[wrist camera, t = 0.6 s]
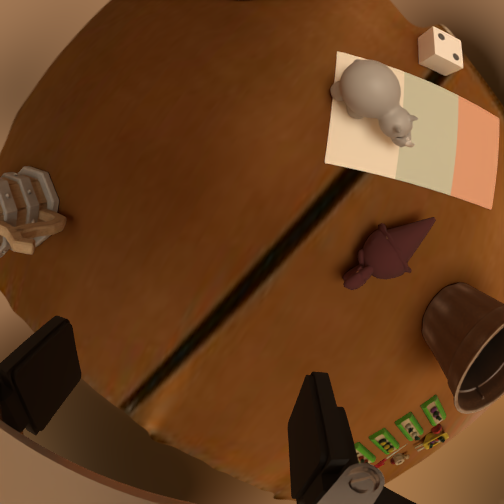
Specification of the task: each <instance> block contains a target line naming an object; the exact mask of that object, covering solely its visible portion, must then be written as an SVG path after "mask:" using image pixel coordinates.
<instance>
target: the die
mask: <svg viewBox="0 0 504 504" xmlns="http://www.w3.org/2000/svg"><path fill="white" fill-rule="evenodd" d="M418 55H419V64H420V65H422V66H425V67H427V68H429V69H431V70H434V71H436V72H438V73H440V74H442V75H444V76H447V75H449V74H451V73H453V72H456V71H458V70H460V69H463V59H462V48H461V41H460V40H458V39H457V38H455V37H453V36H451V35H449V34H447V33H445V32H443V31H441V30H439V29H437V28H435V27H431V28H430V29H429V30H427V31H426V32H425V33H424V34H422V35H421V36H420V37H418Z"/></svg>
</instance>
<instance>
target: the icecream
mask: <svg viewBox="0 0 504 504" xmlns="http://www.w3.org/2000/svg"><path fill="white" fill-rule="evenodd" d="M435 221H436V220H435V218H434V217H432V218H428V219H424V220H421V221H417V222H414V223H410V224H406V225H403V226H399V227H395V228H392V229H388V230H387V229H386V226H385V224H383V223H381V224H380V225H378V230H376V231H374V232H373V233H372V234H371V235H370V236H369V237H368V239H367V240H366V242H365V244H364V247H363V249H361V250H359V251H358V261H359V263H360V264H359V265H357V266H356V267H354V268H352V269H351V270H349V271H348V272H347V273H346V274H345V275H344V276H343V280H344V287H346V288H348V289H351V290H354V289H357V288H359V287H361V286H362V285H363V284H365V283H366V281H367V280H368V279H369V278H370V276H371V275H373V276H374V277H376V278H380V279H390V278H395V277H398V276H401V275H402V274H403V273H404V272H411V269H410V268H409V267H408V265H407V262H408V261H409V259H410V258H411V257H412V255H413V254H414V252H415V251H416V249H417V248H418V247H419V245H420V244H421V242H422V241H423V239H424V238H425V236H426V235H427V233H428V232H429V230H430V229H431V227H432V226H433V224H434V222H435Z"/></svg>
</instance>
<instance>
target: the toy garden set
mask: <svg viewBox="0 0 504 504" xmlns="http://www.w3.org/2000/svg"><path fill="white" fill-rule="evenodd" d="M420 406H421V408H422V410H423V411H424V413H425V415H426V416H427V418H428V420H429V421H430V423H431V425H432V426H435V427H433V428H432V432H433V433H428V434H427V435H426V437H425V440H424V442H423V443H421V444H419V445H417V446H416V447H415V449H416V448H418V447H420V446H422V445H423V447H421V448H420V449H418V450H417V451H420V450H422V449H424V448H426V449H429V448H432V447H433V446H435V445H437V444H439V443H440V442H444V441H445V440H446V439H447V438H449V436H448V435H447V433H446V432H444V431H443V430H442V427H441V425H440V424H438V423H439V422H441V421H442V420H444V419H445V418H446V414H445V412H444V409H443V407H442V405H441V403H440V401H439V399H438V397H437V395H434V396H433V397H432V398H430V399H429V400H427V401H426V402H425V403H423V404H422V405H420ZM395 424H396V426H397V427H398V428H399V429H400V430H401V432H402V433H403V434H404V435H405V436H406V438H407V439H408V440H409V441H413V439H415V440H420V438H419V437H418V436H419V435H422V434H423V429H422V427H421V426H420V424H419V423H418V421H417V420H416V418H415V417H414V415H413V414H412V412H409V413H408V414H406V415H405V416H403V417H402V418H400V419H398V420H397V421H395ZM437 424H438V425H437ZM442 431H443V432H442ZM369 439H370V440H371V441H372V442H373V443H374V444H375V445H376V446H377V447H378V448H379V449H380V450H382V451H383V452H384V453H385V454H390V453H391V452H393V451H394V450H396V449H398V448H399V443H398V442H397V441H396V440H395V438H394V437H393V436H392V435H391V434H390V433H389V432H388V431H387V430H386V428H383V429H381V430H380V431H378V432H376V433H374V434H373V435H371V436H369ZM354 445H355V449H356V453H357V457H358V461H359V463H368V464H369V463H373V462H374V461H375V459H376V457H375V456H374V455H373V454H372V453H371V452H370V451H369V450H368V449H366V448H365V447H364V446H363V445H362V444H361V443H360V442H357V443H356V444H354ZM406 445H407V444H406ZM404 446H405V445H404ZM404 446H403V447H404ZM403 447H402V448H403ZM402 448H400V449H402ZM400 449H399V450H400ZM399 450H397V451H399ZM397 451H396V452H397ZM396 452H394V453H393V454H395V453H396ZM393 454H391V455H390V456H388V457H387V458H385V459H383V460H382V461H380V462H379V463H378V464H377V465H374V466H375V467H376V468H379V467H380V466H382V465H384V462H385V461H386V460H387V459H388V458H389V457H391V456H392V455H393ZM404 458H405V459H408V458H409V455H403V454H402V453H398V454H396V455H394V456H393V458H392V459H391V461H390V462H391V464H396V465H400V464H402V463H403V462H404Z"/></svg>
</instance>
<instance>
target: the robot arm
mask: <svg viewBox="0 0 504 504" xmlns="http://www.w3.org/2000/svg"><path fill="white" fill-rule="evenodd" d="M80 379H81V370H80V365H79V361H78V356H77V351H76V345H75V340H74V334H73V328H72V325H71V324H70V322H69V320H68V319H65V318H62V317H60V316H54V317H53V318H52V319H51V320H49V321H48V322H47V323H46V324H45V325H43V326H42V327H41V328H40V329H39V330H37V331H36V332H35V333H34V334H33V335H32V336H30V338H28V339H27V340H26V341H25V342H23V343H22V344H21V345H20V346H19V347H18V348H17V349H16V350H14V352H12V353H11V354H10V355H9V356H8V357H7V358H6V359H5V360H3V361H2V362H1V363H0V504H196V503H191V502H186V501H182V500H177V499H173V498H169V497H165V496H162V495H158V494H154V493H151V492H148V491H144V490H141V489H138V488H135V487H132V486H129V485H126V484H123V483H120V482H118V481H115V480H112V479H109V478H107V477H104V476H102V475H99V474H97V473H95V472H92V471H90V470H88V469H85V468H83V467H81V466H79V465H77V464H75V463H73V462H71V461H69V460H66V459H65V458H63V457H61V456H59V455H57V454H55V453H53V452H51V451H49V450H48V449H46V448H44V447H42V446H41V445H39V444H37V443H35V442H34V441H32V440H30V439H29V438H27V437H25V436H24V435H23V430H24V428H26V429H27V430H28V431H29V432H31V433H33V434H34V435H37V434H38V432H39V431H42V430H43V429H44V428H45V427H46V425H47V424H48V423H49V421H50V420H51V418H52V417H53V416H54V414H55V413H56V411H57V410H58V409H59V407H60V406H61V405H62V403H63V402H64V401H65V399H66V398H67V397H68V395H69V394H70V393H71V391H72V390H73V388H74V387H75V386H76V385H77V383H78V382H79V381H80ZM288 441H289V458H290V477H291V496H292V498H293V499H296V501H297V504H416V503H414V502H412V501H410V500H408V499H406V498H404V497H402V496H400V495H399V494H397V493H395V492H393V491H391V490H389V489H388V488H386V487H384V484H385V483H384V476H383V474H382V472H381V471H380V470H379V469H378V468H376V467H375V466H373V465H370V464H368V463H359V461H358V457H357V453H356V449H355V445H354V442H353V438H352V434H351V430H350V427H349V423H348V419H347V416H346V412H345V410H344V408H343V407H337V405H336V401H335V398H334V394H333V390H332V386H331V382H330V379H329V375H328V373H323V372H312V373H311V375H306V377H305V379H304V382H303V385H302V387H301V390H300V393H299V396H298V398H297V401H296V404H295V406H294V409H293V411H292V414H291V416H290V419H289V422H288Z"/></svg>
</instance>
